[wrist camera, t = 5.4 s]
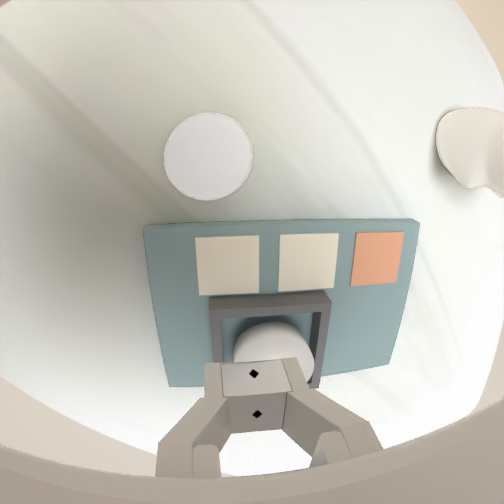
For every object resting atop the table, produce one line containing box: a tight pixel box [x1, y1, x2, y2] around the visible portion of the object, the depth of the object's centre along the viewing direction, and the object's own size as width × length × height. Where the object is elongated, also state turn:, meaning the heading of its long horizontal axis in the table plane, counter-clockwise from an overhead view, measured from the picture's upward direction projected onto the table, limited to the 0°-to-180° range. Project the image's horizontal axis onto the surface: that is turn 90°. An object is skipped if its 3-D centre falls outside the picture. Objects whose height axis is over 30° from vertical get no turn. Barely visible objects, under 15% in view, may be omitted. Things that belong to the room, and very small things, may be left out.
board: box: [143, 219, 420, 389], centre depth 24 cm, size 22×15×3 cm
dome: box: [232, 321, 314, 382], centre depth 23 cm, size 6×6×4 cm
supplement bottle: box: [163, 112, 254, 201], centre depth 17 cm, size 5×5×8 cm
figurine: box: [436, 107, 504, 198], centre depth 17 cm, size 7×8×12 cm
